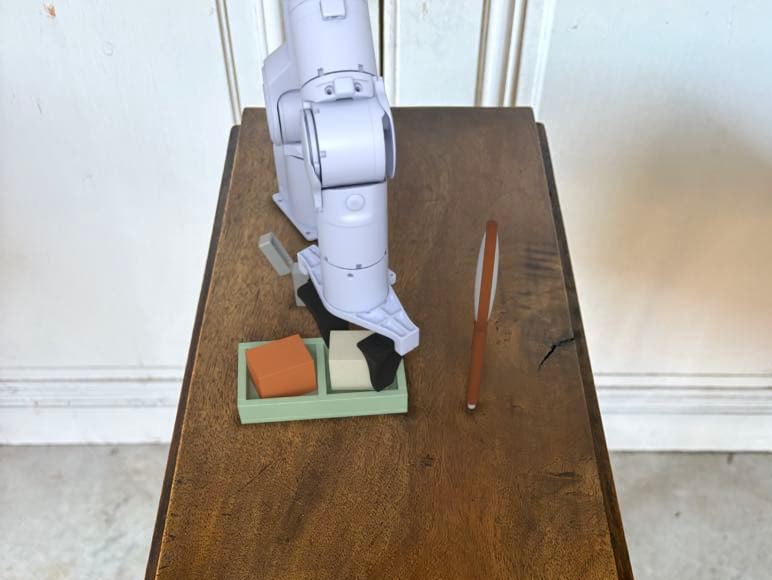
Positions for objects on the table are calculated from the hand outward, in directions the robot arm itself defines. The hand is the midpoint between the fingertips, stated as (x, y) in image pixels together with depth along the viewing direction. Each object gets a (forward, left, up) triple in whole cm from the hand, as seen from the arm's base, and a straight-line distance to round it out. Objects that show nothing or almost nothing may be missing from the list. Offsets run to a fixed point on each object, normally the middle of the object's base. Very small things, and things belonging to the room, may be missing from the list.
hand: (360, 365), depth 77 cm
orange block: (-3, -7, -2) cm, 8 cm away
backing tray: (-2, -3, -2) cm, 5 cm away
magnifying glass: (+8, +8, -3) cm, 12 cm away
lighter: (-14, +1, -3) cm, 14 cm away
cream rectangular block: (0, 0, -1) cm, 1 cm away
